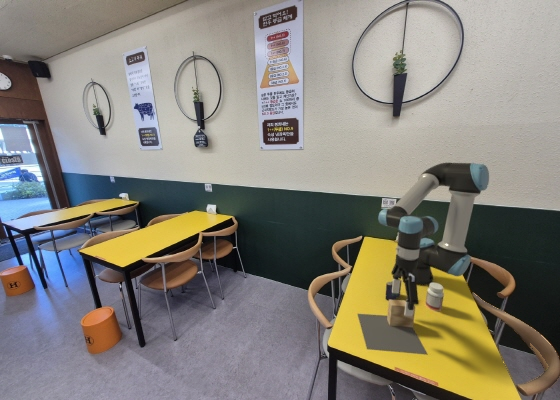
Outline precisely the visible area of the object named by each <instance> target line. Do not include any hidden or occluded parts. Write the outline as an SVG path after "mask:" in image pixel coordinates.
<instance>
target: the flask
mask: <svg viewBox="0 0 560 400" xmlns="http://www.w3.org/2000/svg"><path fill="white" fill-rule="evenodd" d="M393 279H394V278H393V277H392V280H391V281H388V282H386V286H385V300H386V301H388V302H389V300H397V299H398V298H399V297H401V287H402V280H401V279H400V288H399V293H392V285H393Z"/></svg>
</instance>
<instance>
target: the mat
mask: <svg viewBox="0 0 560 400" xmlns="http://www.w3.org/2000/svg"><path fill="white" fill-rule="evenodd" d="M357 317H358V321H359V326H360V329H361V333H362V336H363V340H364V343H365V347H366V350H371V351H372V350H374V351H382V352H383V351H384V352H395V353H407V354H417V355H428V352H427V350H426V348H425V347H424V345H423V343H422V342H421V339H420V337H419V335H418V334H417V332H416V330H415V329H414V326H413V327H400V326H390V325H389V323H388V320H387V315H382V314H369V313H357Z"/></svg>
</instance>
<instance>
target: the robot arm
mask: <svg viewBox="0 0 560 400" xmlns="http://www.w3.org/2000/svg"><path fill="white" fill-rule="evenodd" d="M489 183H490V172H489V169H488V167H487V165H485V164H484V163H476V162H475V163H474V162H472V163H471V162H442V163H437V164H435V165H432V166H431V167H430V168H427V169H426V170H425V171H423V172H422V173H421V174H420V175H419V176H418V178H417V181H416V182H415V183H414V184H413V185H412V187H410V188H409V190H408V191H407V192H406V193H405V194H404V195H402V196H401V198H400V199H399V200H398V201H397V202H396V203H395V204H394V205H393V206H392V207H391V208H390V209H387V208H384V209H382V210H381V211H379V213H378V217H377V218H378V223H379V224H380V225H382V226H386V227H388V228H392V229H395V230H398V235H397V236H398V237H397V243H396V244H397V246H396V248H395V250H396V255H395V262H394V263H395V264H394V266H393V267H392V270H391V272H390V273H391V275H392V281H393V285H392V293H399V288H400V280H401V279H402V282H403V284H404V286H405V293H406V299H405V301H406V304H405V312H404V315H405V316H413V310H414V305H419V295H418V294H419V293H418V286H429V285H430V283H434V276H433V272H432V268H433V269H435V270H439V271H440V272H443V273H445V274H447V275H450V276H454V277H461V276H463V275H464V273H465V272H466V271H467V269H468V267H469V266H470V263H471V260H472V258H471V257H472V256H471V255H469V254H468V249H467V248H466V247H465V244H466V243H465V242H466V239H467V234H468V231H469V226H470V225H469V224H470V221H471V217H472V213H473V207H474V203H475V198H476V197H477V196H480V195H481V192H482V191H486V190H487V188H488V186H489ZM438 187H448V192H449V193H450V194H451V196H450V197H451V198H450V202H449V206H448V211H447V216H446V220H445V226H444V232H443V237H442V240H441V241H440V242H438V243H437V244H435V240H433V239H431V238H427V237H429V236H430V237H431V236H432V235H434V234H435V233H436V232H437V231H438V230H439V223H438V221H437V220H436V219H435V218H434V217H432V216H429V215H427V216H416V215H412V213H413V212H414V210H415V209H416V208H417V207H418V206H419V205H420V204H421V203H422V201H424V200H425V199H426V197H427V196H428V195H429V194H430V193H431V192H432V190H433V191H434V190H435V189H438ZM393 278H394V279H393Z"/></svg>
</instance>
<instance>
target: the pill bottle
mask: <svg viewBox="0 0 560 400" xmlns="http://www.w3.org/2000/svg"><path fill="white" fill-rule="evenodd" d="M426 290H427V291H426V297H425V298H426V299H425V307H427V308H428V309H429V310H430V311H434V312H440V311H441V310H443V309H442V308H443V301H444V296H445V295H444V294H445V293H444V287H443V285H442V284H440V283H439V282H432V283H430V285H428V288H427V289H426Z"/></svg>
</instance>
